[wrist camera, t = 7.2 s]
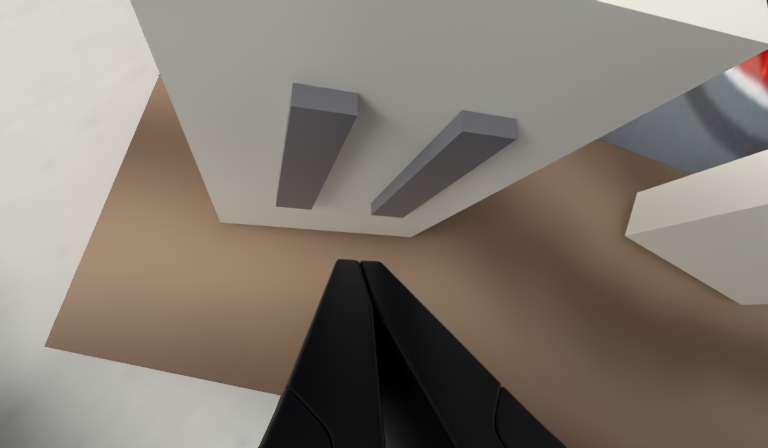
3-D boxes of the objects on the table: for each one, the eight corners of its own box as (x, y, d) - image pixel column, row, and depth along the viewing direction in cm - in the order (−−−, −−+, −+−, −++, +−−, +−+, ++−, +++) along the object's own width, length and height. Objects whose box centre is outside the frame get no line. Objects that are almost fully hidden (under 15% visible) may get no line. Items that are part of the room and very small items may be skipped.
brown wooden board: (756, 489, 18) (784, 499, 17) (60, 344, 13) (44, 346, 12) (757, 214, 21) (780, 209, 20) (201, 4, 16) (197, -16, 15)
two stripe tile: (410, 246, 15) (780, 72, 4) (219, 232, 13) (68, -92, 3) (411, 179, 15) (744, -120, 5) (227, 159, 14) (125, -352, 3)
